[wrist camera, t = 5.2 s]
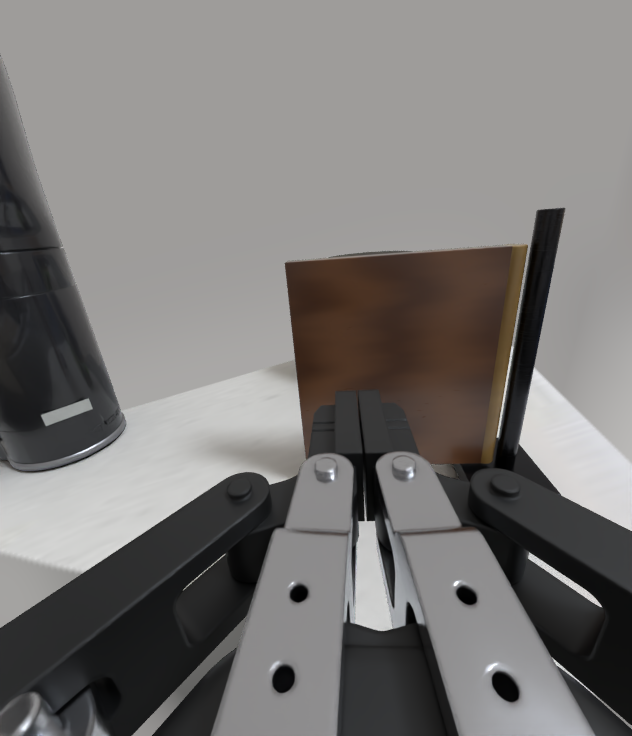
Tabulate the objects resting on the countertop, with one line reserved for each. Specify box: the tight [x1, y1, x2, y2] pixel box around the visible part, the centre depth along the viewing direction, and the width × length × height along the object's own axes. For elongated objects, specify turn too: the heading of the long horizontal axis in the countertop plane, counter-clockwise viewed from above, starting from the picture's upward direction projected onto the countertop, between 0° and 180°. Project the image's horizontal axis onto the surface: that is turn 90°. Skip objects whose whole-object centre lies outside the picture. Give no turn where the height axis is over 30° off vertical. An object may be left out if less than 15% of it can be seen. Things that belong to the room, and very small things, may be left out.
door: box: [285, 244, 528, 464], centre depth 21 cm, size 13×1×14 cm, turn 86°
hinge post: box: [453, 208, 565, 495], centre depth 20 cm, size 5×6×17 cm
